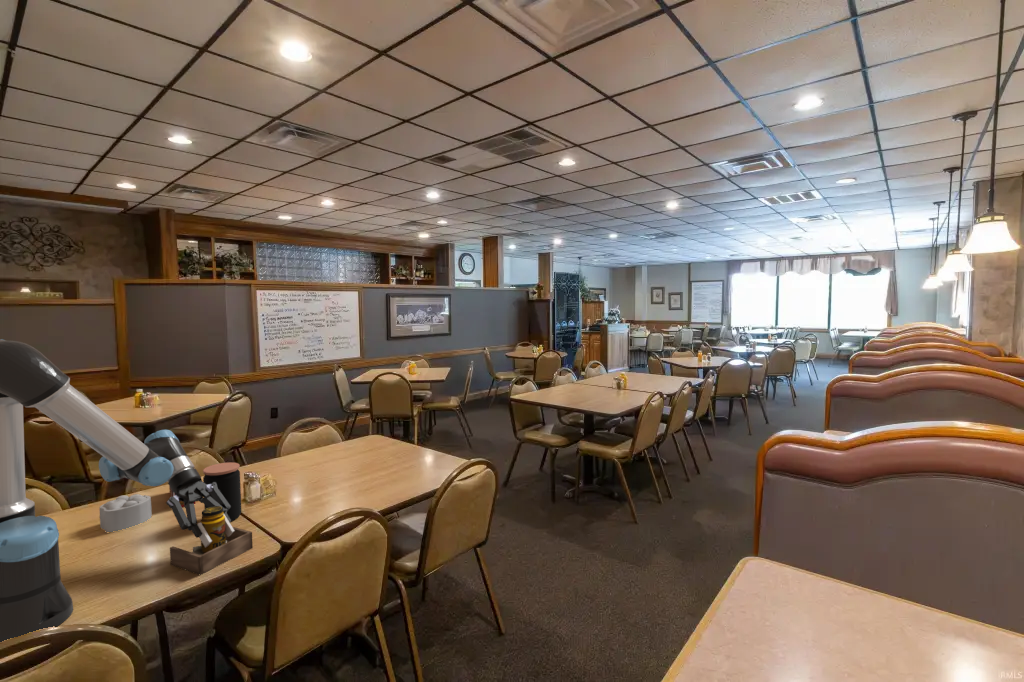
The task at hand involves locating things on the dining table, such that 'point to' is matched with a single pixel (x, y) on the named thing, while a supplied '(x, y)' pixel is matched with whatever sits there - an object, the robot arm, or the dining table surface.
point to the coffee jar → (226, 485)
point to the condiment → (212, 529)
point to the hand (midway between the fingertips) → (220, 538)
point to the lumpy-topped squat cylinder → (125, 512)
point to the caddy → (212, 553)
